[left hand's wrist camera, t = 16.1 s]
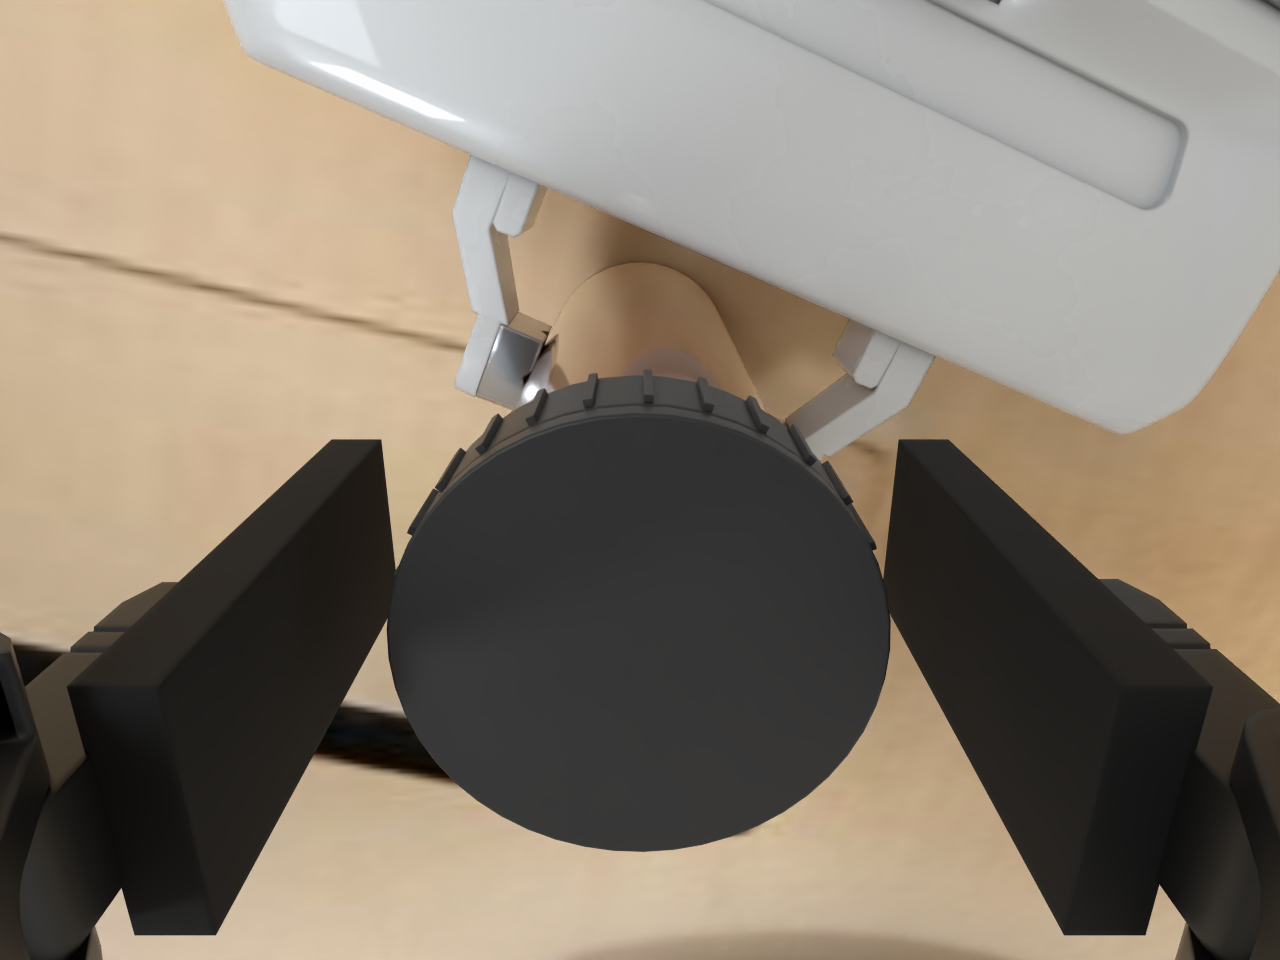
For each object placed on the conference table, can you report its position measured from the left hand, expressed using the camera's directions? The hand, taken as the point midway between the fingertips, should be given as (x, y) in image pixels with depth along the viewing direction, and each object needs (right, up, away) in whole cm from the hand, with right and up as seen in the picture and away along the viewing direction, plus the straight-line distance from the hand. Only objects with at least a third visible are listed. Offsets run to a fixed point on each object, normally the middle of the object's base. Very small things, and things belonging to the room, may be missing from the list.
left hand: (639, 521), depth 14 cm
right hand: (0, +1, +6) cm, 6 cm away
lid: (0, -1, -3) cm, 3 cm away
